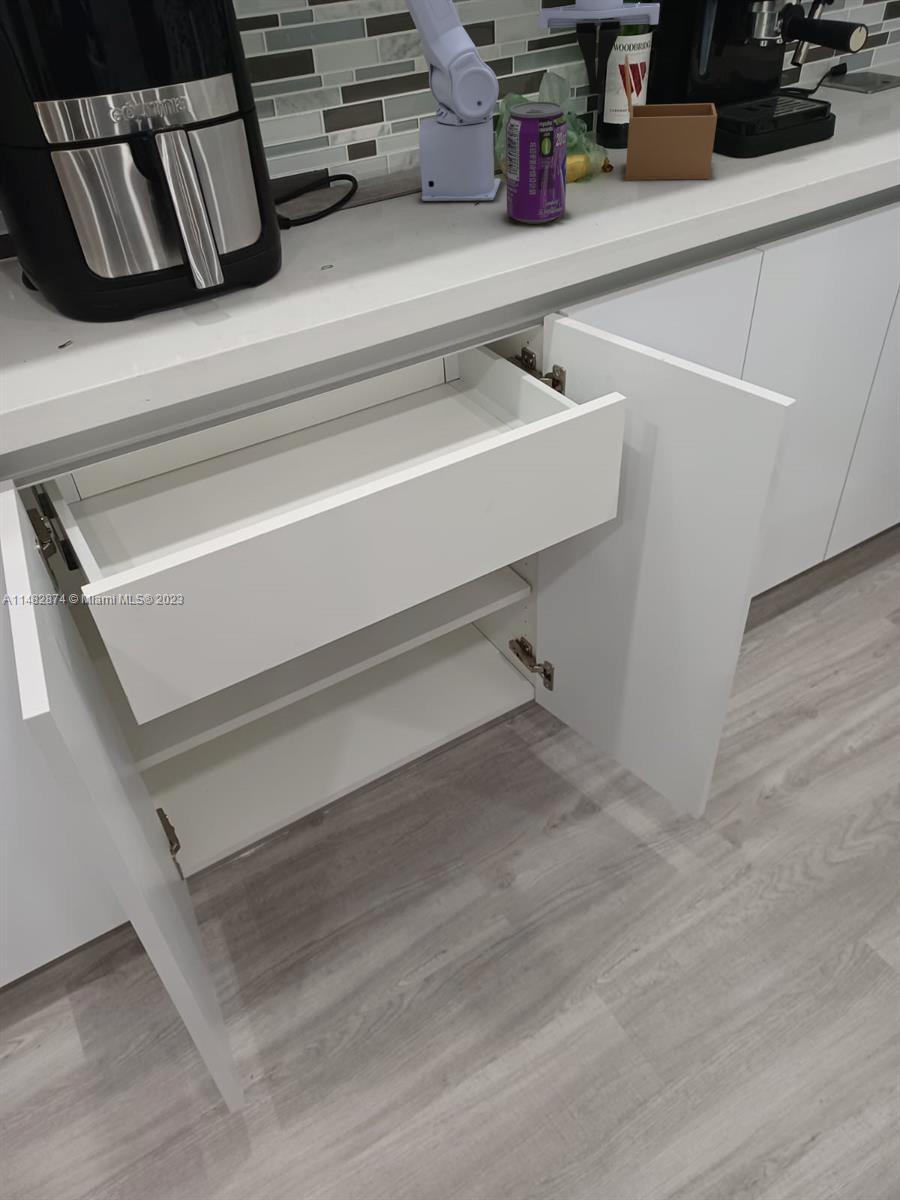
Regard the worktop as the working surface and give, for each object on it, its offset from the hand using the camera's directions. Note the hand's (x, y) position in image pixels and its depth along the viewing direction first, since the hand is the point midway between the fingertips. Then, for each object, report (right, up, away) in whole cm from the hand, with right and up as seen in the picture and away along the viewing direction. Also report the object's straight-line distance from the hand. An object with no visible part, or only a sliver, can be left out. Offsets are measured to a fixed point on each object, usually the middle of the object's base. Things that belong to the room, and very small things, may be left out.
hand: (595, 92), depth 112 cm
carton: (+10, -8, +5) cm, 14 cm away
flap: (+4, 0, -1) cm, 4 cm away
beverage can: (-8, -19, -6) cm, 21 cm away
